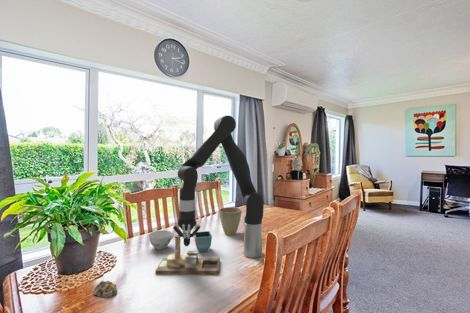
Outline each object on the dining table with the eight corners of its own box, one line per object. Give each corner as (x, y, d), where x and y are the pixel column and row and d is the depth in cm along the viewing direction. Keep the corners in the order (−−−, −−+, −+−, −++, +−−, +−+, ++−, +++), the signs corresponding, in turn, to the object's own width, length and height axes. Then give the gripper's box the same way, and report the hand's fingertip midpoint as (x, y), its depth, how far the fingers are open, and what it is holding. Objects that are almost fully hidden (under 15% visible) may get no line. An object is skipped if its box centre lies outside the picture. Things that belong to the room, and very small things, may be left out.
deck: (219, 261, 126) (219, 248, 126) (218, 274, 113) (218, 260, 113) (163, 261, 126) (163, 248, 125) (155, 274, 113) (155, 260, 112)
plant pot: (242, 230, 173) (242, 207, 173) (240, 238, 159) (240, 213, 158) (220, 229, 175) (220, 206, 174) (216, 237, 160) (217, 212, 159)
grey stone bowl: (157, 254, 133) (157, 239, 133) (144, 248, 141) (144, 233, 141) (180, 246, 145) (180, 232, 144) (167, 240, 153) (167, 227, 152)
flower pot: (195, 254, 134) (195, 237, 134) (193, 247, 142) (193, 232, 142) (211, 252, 136) (212, 236, 136) (209, 246, 145) (209, 230, 144)
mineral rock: (87, 286, 98) (107, 273, 104) (90, 296, 99) (110, 282, 105) (102, 297, 92) (122, 282, 98) (105, 307, 93) (124, 291, 99)
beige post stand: (188, 261, 122) (188, 234, 121) (186, 265, 117) (186, 237, 116) (169, 260, 122) (169, 233, 121) (166, 265, 117) (166, 237, 116)
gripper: (202, 207, 122) (201, 242, 123) (174, 206, 122) (174, 242, 123) (200, 211, 115) (200, 248, 115) (171, 210, 114) (170, 248, 115)
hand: (186, 245), depth 119 cm, fingers closed
